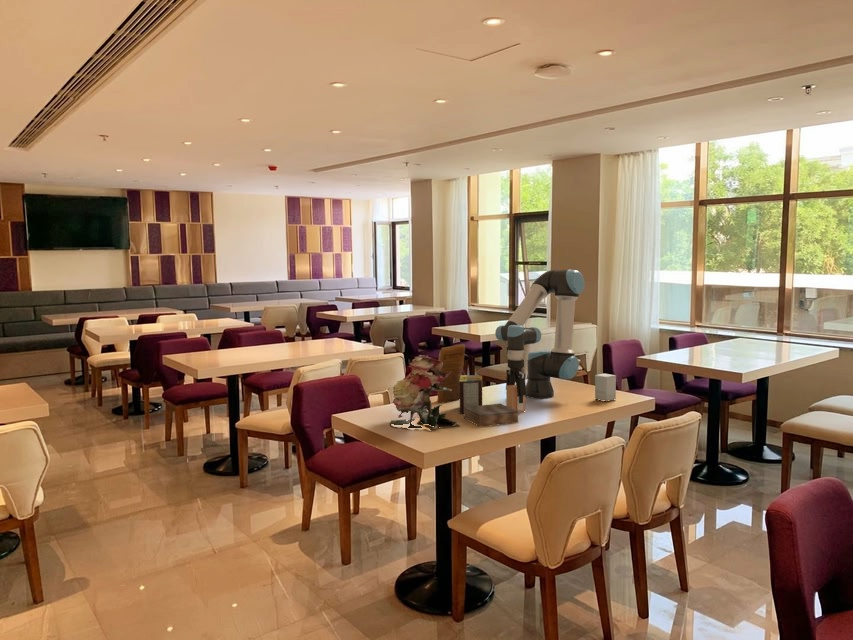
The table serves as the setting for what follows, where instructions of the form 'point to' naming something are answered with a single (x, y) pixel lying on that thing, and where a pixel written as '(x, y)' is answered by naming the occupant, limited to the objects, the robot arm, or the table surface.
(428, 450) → the table surface
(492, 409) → the display podium
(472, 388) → the protein box
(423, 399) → the rose bouquet
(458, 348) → the pancake mix bag
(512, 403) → the carton
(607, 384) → the supplement box
